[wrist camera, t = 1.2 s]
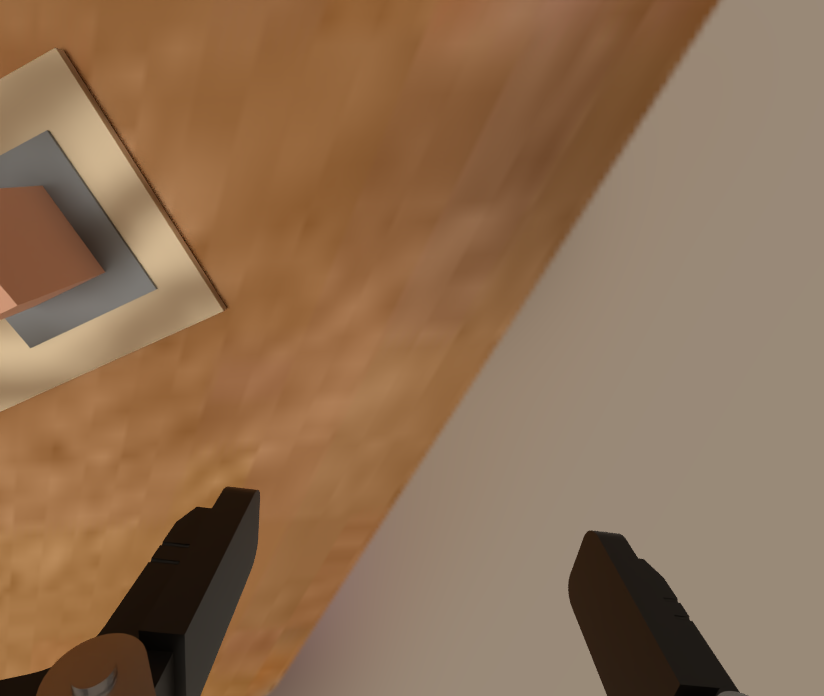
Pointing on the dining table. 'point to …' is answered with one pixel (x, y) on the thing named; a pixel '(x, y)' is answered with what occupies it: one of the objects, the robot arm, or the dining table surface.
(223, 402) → the dining table surface
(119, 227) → the board
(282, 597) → the dining table surface
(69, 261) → the terracotta block
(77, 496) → the dining table surface
